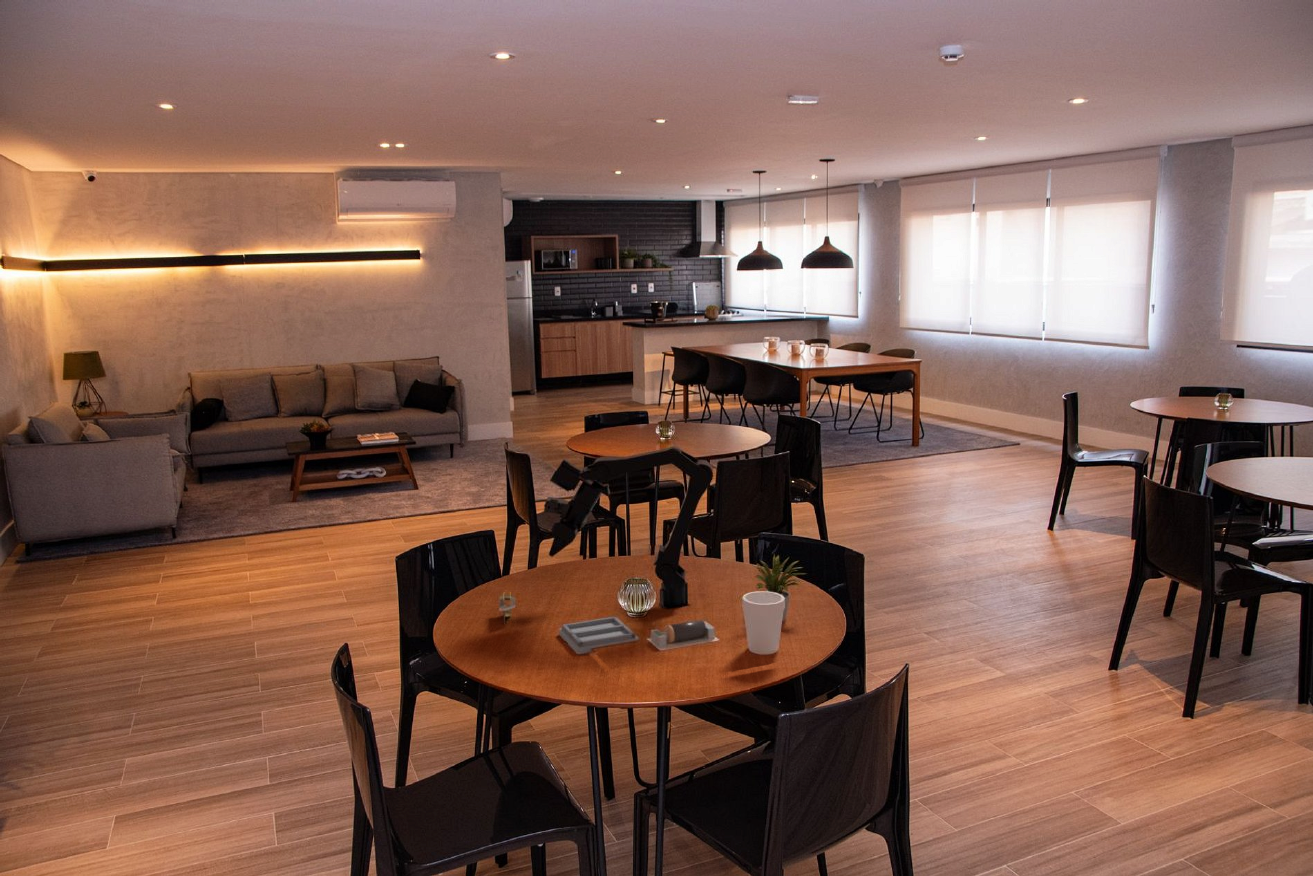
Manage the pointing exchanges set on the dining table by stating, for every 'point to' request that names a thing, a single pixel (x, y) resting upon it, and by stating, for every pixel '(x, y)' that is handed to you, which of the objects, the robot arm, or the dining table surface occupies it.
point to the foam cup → (763, 620)
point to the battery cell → (684, 631)
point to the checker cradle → (660, 641)
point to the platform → (506, 607)
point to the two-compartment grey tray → (596, 634)
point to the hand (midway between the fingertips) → (553, 551)
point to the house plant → (773, 579)
